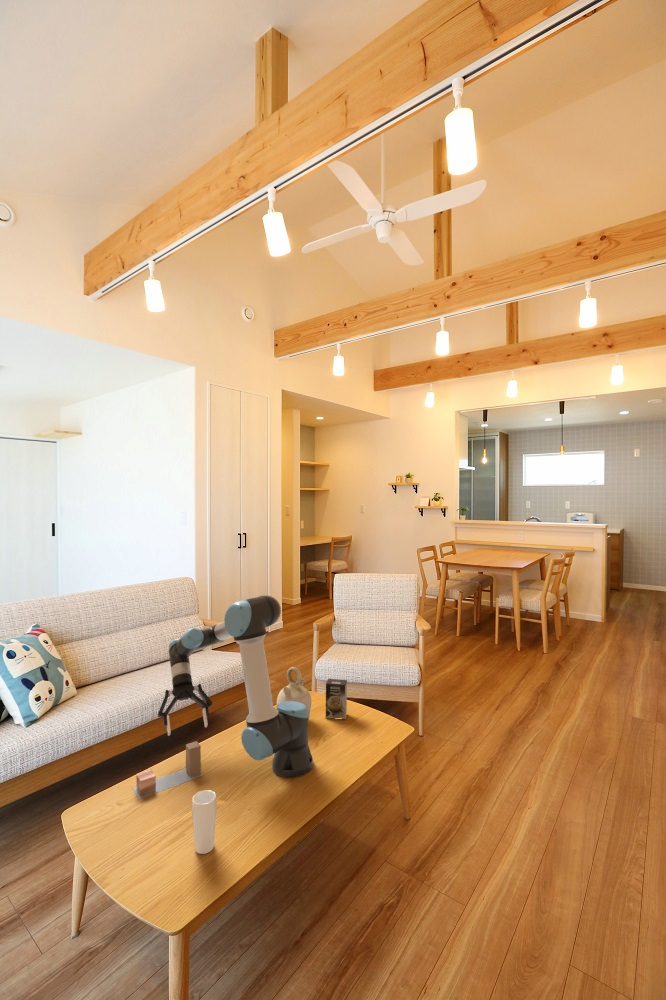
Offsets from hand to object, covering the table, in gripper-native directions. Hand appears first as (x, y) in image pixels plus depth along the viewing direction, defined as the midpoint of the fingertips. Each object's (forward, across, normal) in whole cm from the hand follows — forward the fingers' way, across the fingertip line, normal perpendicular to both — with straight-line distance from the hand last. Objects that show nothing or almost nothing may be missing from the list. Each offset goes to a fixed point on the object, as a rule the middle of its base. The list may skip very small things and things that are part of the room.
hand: (188, 730), depth 180 cm
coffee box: (+3, -67, -15) cm, 69 cm away
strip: (+16, +8, -2) cm, 18 cm away
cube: (+16, +16, 0) cm, 23 cm away
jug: (+1, -48, -17) cm, 51 cm away
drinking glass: (+42, +3, +24) cm, 48 cm away
